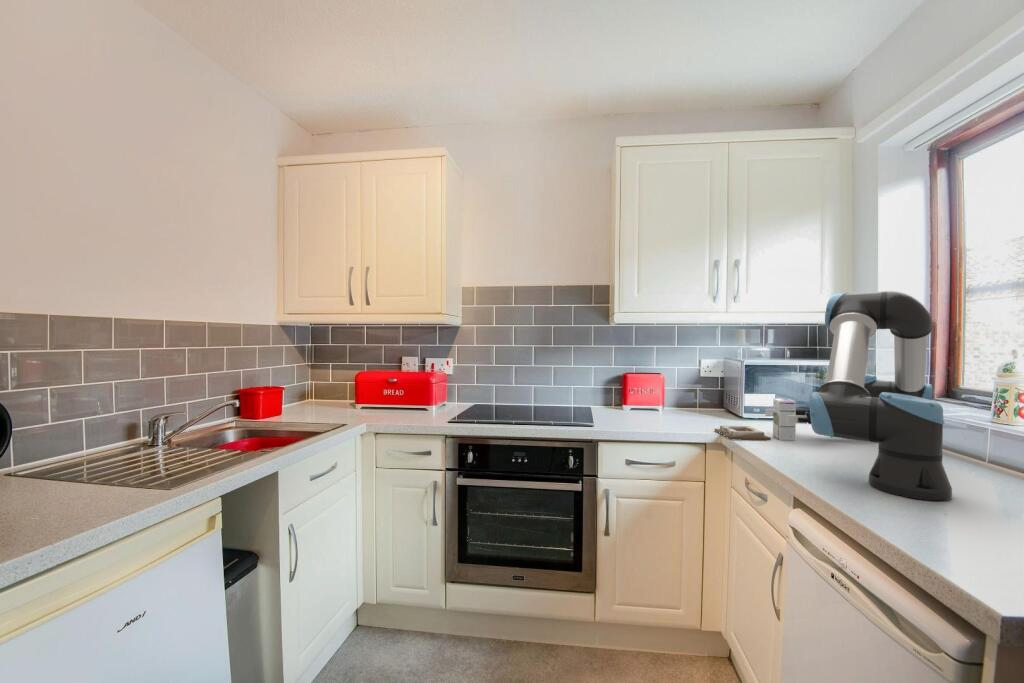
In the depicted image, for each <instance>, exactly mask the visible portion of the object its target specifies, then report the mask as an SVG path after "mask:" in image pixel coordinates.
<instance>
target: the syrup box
mask: <svg viewBox="0 0 1024 683" xmlns="http://www.w3.org/2000/svg"><path fill="white" fill-rule="evenodd" d="M772 403H773V405H772V406H773V407H772V409H773V416H772V419H773V421H772V422H773V423H772V425H773V426H772V431H773V432H772V435H773V438H775V439H777V440H779V441H789V440H795V441H796V437H797V436H796V435H797V434H796V432H797V430H796V429H797V428H796V425H797V423H787V415H796V409H797V407H796V405H797V403H796V400H792V399H790V398H782V397H781V398H779V397H778V398H773V402H772Z"/></svg>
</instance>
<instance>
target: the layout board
mask: <svg viewBox="0 0 1024 683" xmlns="http://www.w3.org/2000/svg"><path fill="white" fill-rule="evenodd" d="M714 430H715V431H717V432H720V433H722V434H723V435H725V436H726V437H725V436H724V437H725V438H727V437H728V438H727V439H729V440H731V441H733V440H732V439H741V440H740V441H767V440H771V441H772V438H771V437H770V436H767V435H766V434H765V432H764V431H761V430H759V429H756V428H754V427H751V426H750V425H720V426H719V428H714ZM715 431H714V432H715ZM717 432H716V433H717ZM723 435H722V436H723Z"/></svg>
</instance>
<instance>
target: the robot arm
mask: <svg viewBox="0 0 1024 683" xmlns="http://www.w3.org/2000/svg"><path fill="white" fill-rule="evenodd" d="M824 323H825V328H827V329H828V330H830V332H831V333H832V335H833V339H832V346H831V350H830V358H829V364H828V369H827V373H826V374H827V376H826V380H825V382H824V383H822V384H821V385H820V386H818V389H817V391H813V392H810V393H809V396H808V397H809V398H808V399H809V402H808V403H809V409H799V408H798V409H797V408H796V415H787V423H796V424H802V425H803V424H805V425H806V424H809V425H811V429H812V431H813V432H814V433H815V434H816V435H819V436H825V437H829V438H832V439H833V438H838V439H839V438H840V439H846V440H852V441H861V442H869V443H874V444H878V451H877V452H878V454H877V456H876V458H875V461H874V463H873V465H872V467H871V469H870V472H869V474H868V483H869V485H870V486H872V487H874V488H876V489H877V488H878V490H880V491H883V492H886V493H889V492H890V494H892V493H894V494H893V495H896V494H898V495H897V496H900V495H902V496H901V497H905V496H907V497H906V498H910V497H912V498H911V499H915V498H917V499H916V500H922V499H925V500H924V501H932V500H945V501H948V500H947V499H950V498H951V497H953V488H952V485H951V483H950V481H949V478H948V474H947V473H946V470H945V468H944V465H943V446H944V445H943V444H944V443H943V440H944V439H943V438H944V436H943V434H944V433H943V432H944V431H943V430H944V425H945V421H944V409H943V408H944V407H943V406H942V405H941V404H940V403H938V401H934V400H933V385H932V384H931V383H926V370H927V368H926V366H927V345H928V336H929V335H930V334H931V333H932V330H933V319H932V315H931V314H930V312H929V310H928V308H927V307H926V306H925V305H924V304H923V303H922V302H921V301H920V300H919V299H917V298H916V297H914V296H913V295H911V294H908V293H906V292H902V291H895V290H887V291H886V290H885V291H865V292H864V291H861V292H859V291H858V292H843V293H835V294H833V295H831V296H830V298H829V299H828V301H827V304H826V307H825V312H824ZM878 330H889V331H890V333H891V335H893V337H894V338H893V340H894V346H893V347H894V353H893V354H894V355H893V356H894V381H891V380H879V379H877V376H876V375H875V374H869V373H866V372H867V367H868V366H867V364H868V355H869V348H870V347H869V345H870V338H871V337H873V336H874V335H875V334H876V332H877V331H878ZM764 412H765V414H764V416H765V417H773V408H765V410H764ZM951 499H952V498H951ZM951 499H950V500H951Z"/></svg>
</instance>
